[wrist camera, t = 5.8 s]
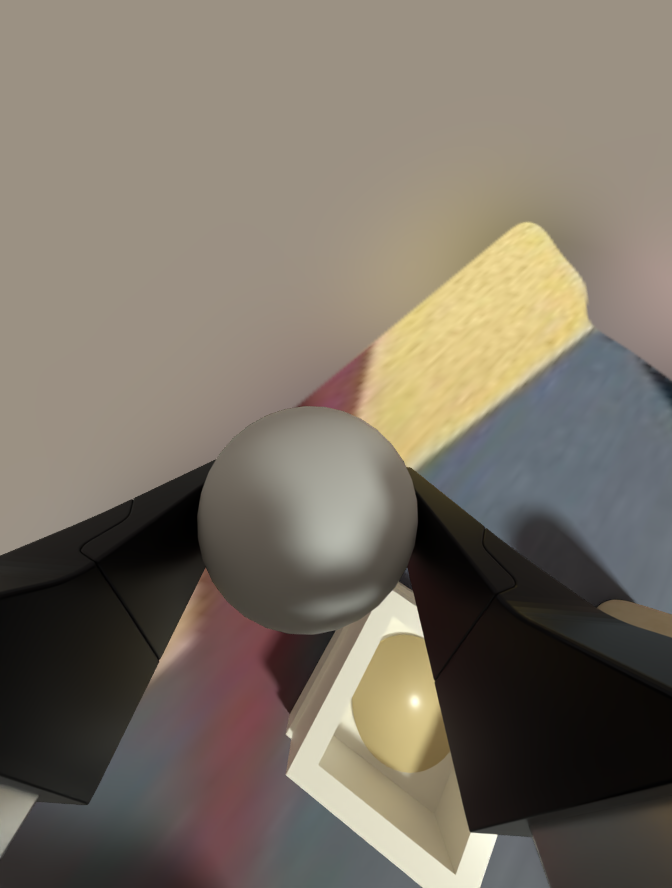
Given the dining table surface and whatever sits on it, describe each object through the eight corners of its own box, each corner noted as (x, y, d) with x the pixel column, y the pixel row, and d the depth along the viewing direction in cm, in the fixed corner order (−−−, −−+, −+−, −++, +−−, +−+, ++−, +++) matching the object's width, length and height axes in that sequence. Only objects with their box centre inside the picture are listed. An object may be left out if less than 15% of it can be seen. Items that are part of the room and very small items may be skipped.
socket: (503, 651, 18) (551, 691, 14) (434, 829, 15) (470, 937, 12) (372, 563, 19) (383, 577, 15) (289, 714, 17) (277, 777, 13)
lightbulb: (365, 569, 14) (465, 740, 4) (262, 554, 14) (73, 682, 4) (375, 466, 16) (465, 380, 5) (281, 453, 16) (185, 344, 5)
